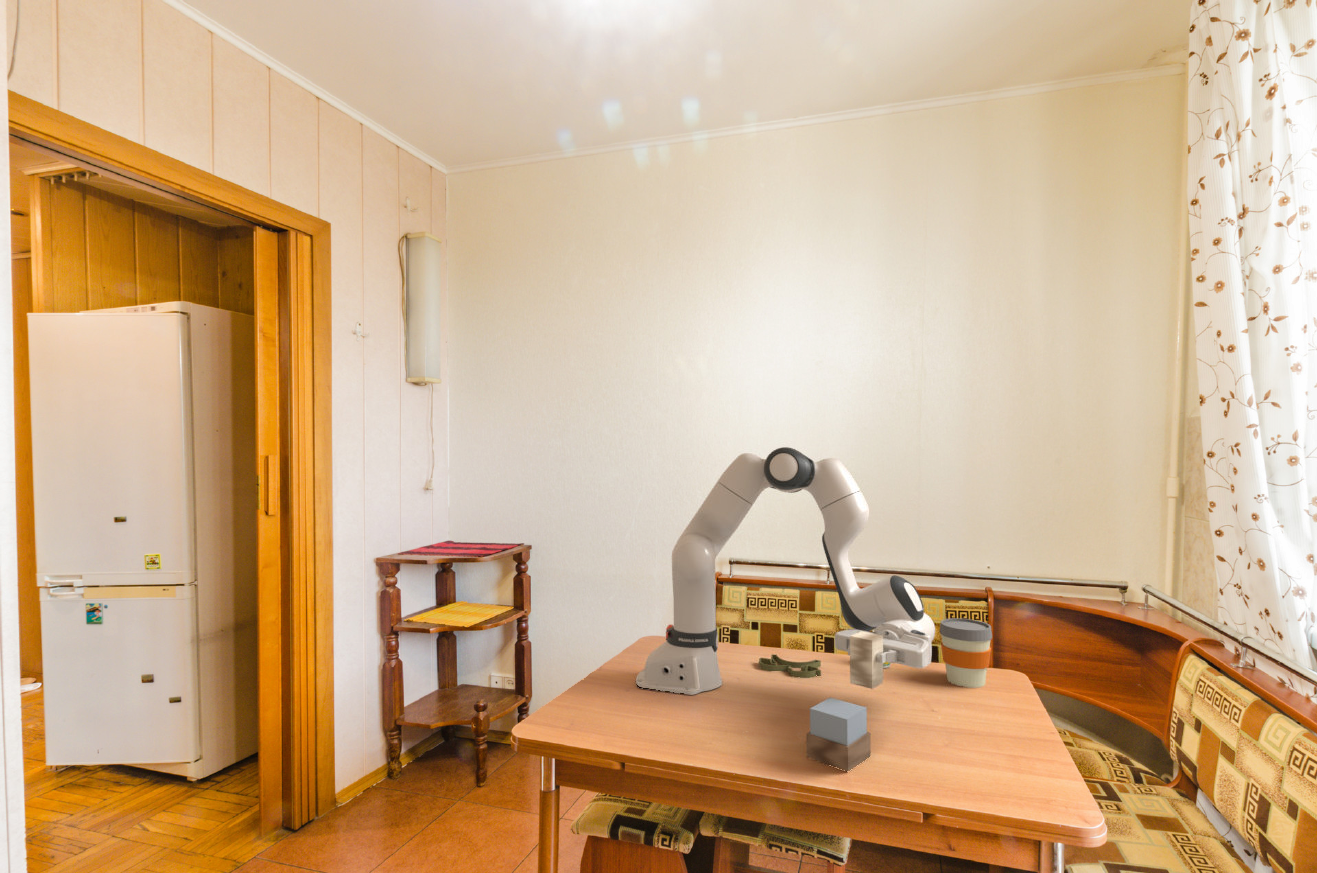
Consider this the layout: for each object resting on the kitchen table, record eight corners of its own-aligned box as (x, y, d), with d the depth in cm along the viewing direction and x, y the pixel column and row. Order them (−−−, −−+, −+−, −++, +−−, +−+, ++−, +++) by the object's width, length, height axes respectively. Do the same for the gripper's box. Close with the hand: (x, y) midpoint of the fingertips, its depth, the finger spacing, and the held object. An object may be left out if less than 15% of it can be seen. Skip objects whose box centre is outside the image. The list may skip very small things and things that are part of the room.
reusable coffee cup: (1002, 683, 175) (1001, 625, 175) (975, 694, 168) (974, 633, 168) (957, 670, 185) (957, 615, 185) (930, 679, 178) (929, 622, 178)
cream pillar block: (850, 683, 143) (850, 635, 143) (861, 677, 147) (861, 631, 147) (872, 689, 139) (872, 640, 140) (883, 683, 143) (883, 635, 143)
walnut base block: (806, 759, 133) (806, 733, 133) (830, 744, 140) (829, 720, 140) (848, 774, 127) (847, 747, 127) (870, 758, 133) (870, 733, 134)
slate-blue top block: (810, 734, 133) (810, 708, 133) (830, 721, 139) (830, 697, 139) (847, 746, 128) (847, 719, 128) (866, 732, 134) (866, 707, 134)
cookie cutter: (827, 668, 188) (827, 661, 188) (818, 682, 178) (818, 674, 178) (765, 660, 196) (765, 653, 196) (752, 672, 185) (752, 665, 185)
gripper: (851, 619, 160) (820, 631, 150) (938, 636, 146) (911, 650, 136) (851, 646, 160) (820, 659, 150) (938, 666, 145) (911, 682, 135)
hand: (864, 655), depth 142 cm, fingers closed on cream pillar block, 5 cm apart
